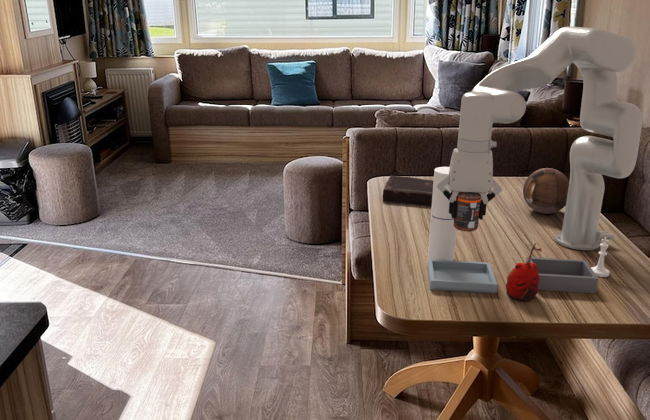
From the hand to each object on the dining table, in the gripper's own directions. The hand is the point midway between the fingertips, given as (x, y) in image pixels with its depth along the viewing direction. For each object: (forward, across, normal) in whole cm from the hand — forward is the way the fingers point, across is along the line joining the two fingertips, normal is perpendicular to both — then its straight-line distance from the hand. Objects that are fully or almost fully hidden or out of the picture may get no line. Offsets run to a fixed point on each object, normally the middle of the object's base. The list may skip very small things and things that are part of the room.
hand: (466, 216), depth 155 cm
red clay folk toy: (+18, -14, +7) cm, 23 cm away
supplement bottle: (+3, 0, 0) cm, 3 cm away
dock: (+17, -25, -3) cm, 31 cm away
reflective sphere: (+17, -33, -57) cm, 68 cm away
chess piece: (+17, -37, -10) cm, 42 cm away
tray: (+17, 0, 0) cm, 17 cm away
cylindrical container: (+17, +4, -14) cm, 22 cm away
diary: (+18, +7, -67) cm, 70 cm away
